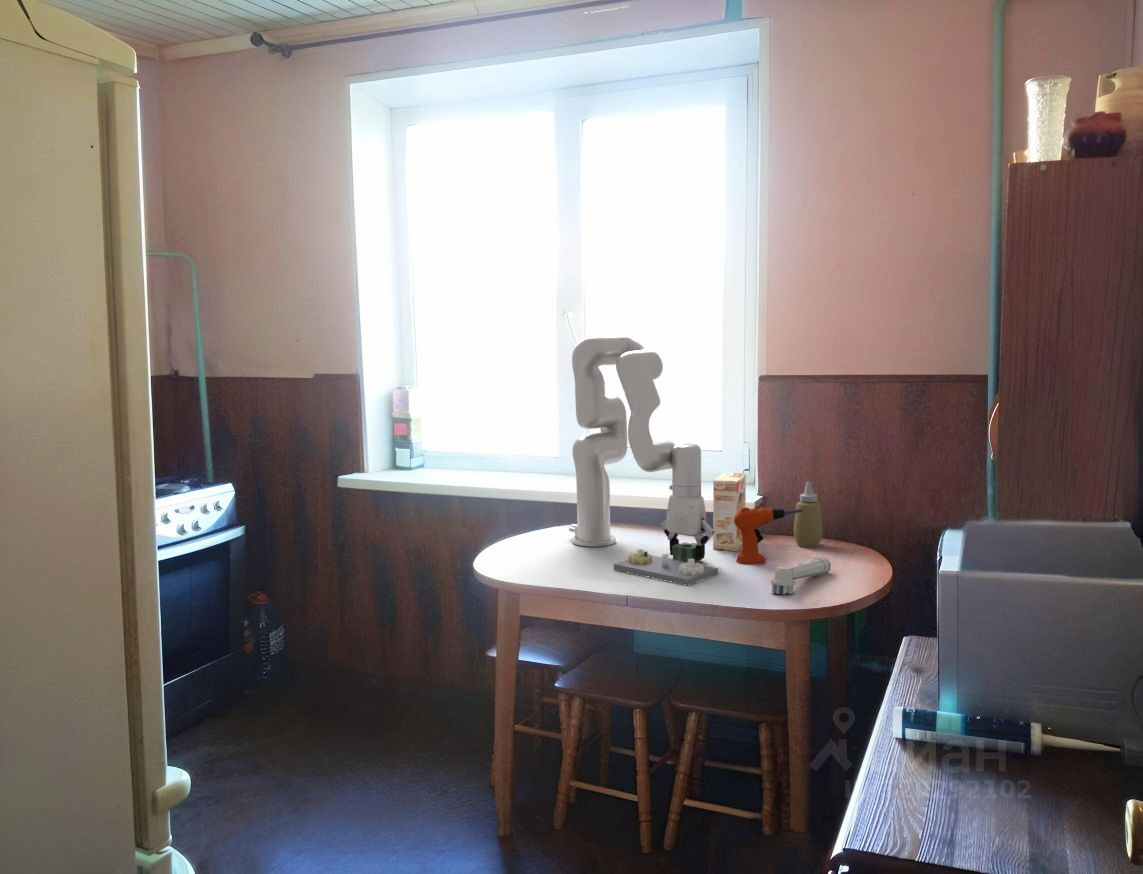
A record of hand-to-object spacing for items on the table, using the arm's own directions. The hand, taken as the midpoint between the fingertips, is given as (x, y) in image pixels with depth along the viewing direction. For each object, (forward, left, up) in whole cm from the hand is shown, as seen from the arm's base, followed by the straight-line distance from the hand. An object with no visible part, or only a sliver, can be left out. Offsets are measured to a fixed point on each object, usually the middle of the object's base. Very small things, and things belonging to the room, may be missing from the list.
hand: (687, 556), depth 235 cm
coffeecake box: (-1, +23, -1) cm, 23 cm away
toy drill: (+17, +13, -1) cm, 21 cm away
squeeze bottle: (+17, +35, -1) cm, 38 cm away
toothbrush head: (+33, 0, -2) cm, 33 cm away
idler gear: (0, 0, -1) cm, 1 cm away
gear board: (+2, -12, -1) cm, 13 cm away
